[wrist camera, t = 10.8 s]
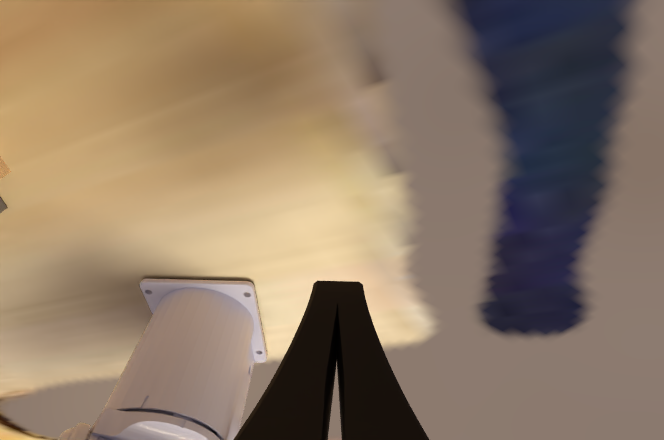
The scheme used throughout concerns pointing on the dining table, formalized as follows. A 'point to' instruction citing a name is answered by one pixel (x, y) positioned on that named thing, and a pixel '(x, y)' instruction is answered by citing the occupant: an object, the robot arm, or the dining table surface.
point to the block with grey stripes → (3, 168)
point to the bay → (2, 205)
